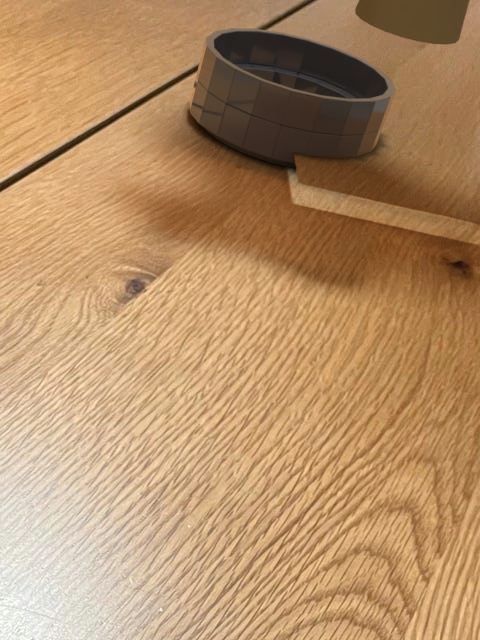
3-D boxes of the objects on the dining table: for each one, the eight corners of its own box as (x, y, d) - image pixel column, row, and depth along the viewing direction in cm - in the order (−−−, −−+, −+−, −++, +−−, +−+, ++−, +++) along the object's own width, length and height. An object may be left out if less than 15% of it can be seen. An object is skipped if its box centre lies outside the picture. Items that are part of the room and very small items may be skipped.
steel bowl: (359, 126, 101) (383, 55, 97) (378, 192, 91) (406, 117, 88) (186, 86, 100) (204, 14, 97) (187, 149, 91) (208, 71, 87)
